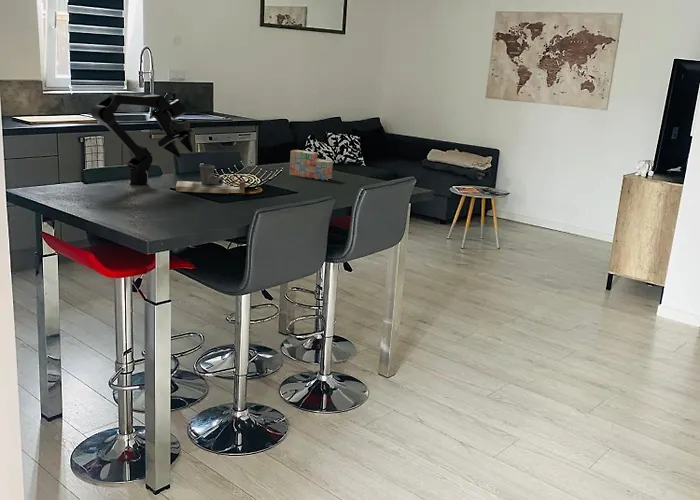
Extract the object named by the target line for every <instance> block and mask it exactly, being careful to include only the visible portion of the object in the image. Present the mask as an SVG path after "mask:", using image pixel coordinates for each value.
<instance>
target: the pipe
mask: <svg viewBox="0 0 700 500" xmlns="http://www.w3.org/2000/svg"><path fill="white" fill-rule="evenodd" d="M198 166H199V172H200V182H201V183H202V184H209V185H216V186H222V184H223V183H224V180H223V178H222V177H221V176H215V175H214V173H215V172H214V171H215V169H216V167H215V165H213V164H212V165H211V164H203V163H202V164H201V163H200V164H199V165H198Z"/></svg>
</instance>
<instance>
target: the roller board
mask: <svg viewBox="0 0 700 500" xmlns="http://www.w3.org/2000/svg"><path fill="white" fill-rule="evenodd" d="M245 183H246V181H245V180H244V181H240V187H234V186H230V185H227V184H225V182H223V184H222V186H216V185H209V184H202V183H201V181H186V180H185V181H184V180H183V181H182V180H177V181H176V185H175V192H187V193H188V192H189V193H210V194H229V193H244V194H245V189H246V188H245V185H246V184H245Z"/></svg>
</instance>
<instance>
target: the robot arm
mask: <svg viewBox="0 0 700 500" xmlns="http://www.w3.org/2000/svg"><path fill="white" fill-rule="evenodd" d="M121 105H133V106H145V107H147V108H152V109H155V110H156V111H155V110H151V111H150V112H149V113H150V114H149V117H148V118H149V119H151V120H152V119H153V118H155V120H156V122H157V124H158V126H160V129H159V130H160V132H163V133H164V134H165V135H164V136H163V137H161V138H160V139H159V140H158V141H157V145H158V147H159V149H161V148H162V150H167V152H169V153H171V154H173V155H174V156H176V157H177V158H181V157H182V155H181V152H180V151H179V150H178V148H177V145H176V140H179V142H180V143H181V145H183V146H184V148H186V149H187V150H188V151H189V152H190V153H193V152H194V148H193V146H192V141H191V138H192V137H191V136H193V133H194V131H193V129H192V128H191V127H190V125H191V122H190V121H189V120H188V118H184V119H181V121H180V122H177V121H176V120H174V119H177V118H179V117H181V116H183V115H185V114H186V111H187V110H186V107H185V105H183V103H182V102H181V101H180V99H174V100H173V101H172V102H169V101H167V100H166V98H165V96H163V95H158V94H146V95H131V94H120V93H111V94H109V95H108V97H106V98H105V99H103V100H102V101H100V102H99V103H98V104H96V105H94V106H93V107H92V108H91V111H90V115H91V117H92V118H93V119H94V120H95V121H96V122H98V123H100V124H101V125H103V126H105V127H106V128H107V129H108V130H109V131H110V132H111V134H112V135H113V136H114V137H115V138H116V139H117V140H118V141H119V142H120V143H121V144H122V145H123V147H124V148H125V149H126V150H127V151H128V153H129V157H130V158H131V159H130V160H129V161H127V163H126V165H127V168H128V169H130V172H129V173H130V177H129V178H130V183H129V185H131V186H132V185H133V186H146V185H147V184H148V182H149V173H148V171H150V168H151V165H152V163H153V159H154V158H153V156H152V154H153V153H151V152H150V151H149V150H148V148H147V146H142V145H138V144H137V143H136V142H135V140H134V139H132V137H131V136H130V135H129V134H128V133H127V132H126V130H125V129H124V128H123V127H122V126H121V125H120V124H119V123H118V120H117V118H116V116H115V113H116V112H117V110H118V108H119V107H120V106H121Z"/></svg>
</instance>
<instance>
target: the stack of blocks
mask: <svg viewBox="0 0 700 500" xmlns="http://www.w3.org/2000/svg"><path fill="white" fill-rule="evenodd" d="M289 155H290V159H289V175H290V176H295V177H300V178H306V177H307V178H308V179H312V178H314V179H313V180H318V179H321V180H320V181H324V180H327V181H329V180H328V179H331V178H332V177H333V164H334V161H333V160H327V159H322V158H321V159H320V158H318V152H315V151H308V150H300V149H292V150H290V154H289ZM331 180H332V179H331Z"/></svg>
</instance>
